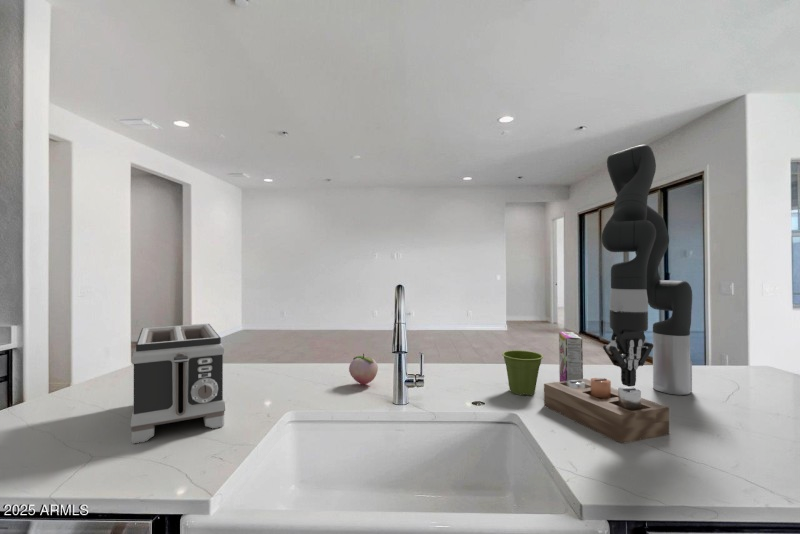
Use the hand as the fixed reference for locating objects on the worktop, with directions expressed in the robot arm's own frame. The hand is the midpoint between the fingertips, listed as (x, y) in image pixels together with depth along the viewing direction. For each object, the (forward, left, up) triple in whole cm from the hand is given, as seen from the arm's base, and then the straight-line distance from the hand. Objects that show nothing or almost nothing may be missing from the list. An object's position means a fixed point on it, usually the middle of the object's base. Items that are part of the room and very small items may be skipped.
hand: (628, 385), depth 88 cm
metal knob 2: (0, 0, -5) cm, 5 cm away
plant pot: (+5, -32, -11) cm, 34 cm away
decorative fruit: (+48, -55, -11) cm, 74 cm away
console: (0, -8, -10) cm, 13 cm away
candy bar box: (-12, -31, -11) cm, 35 cm away
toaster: (+98, -44, -11) cm, 108 cm away
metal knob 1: (0, -16, -7) cm, 17 cm away
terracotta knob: (0, -8, -5) cm, 9 cm away
